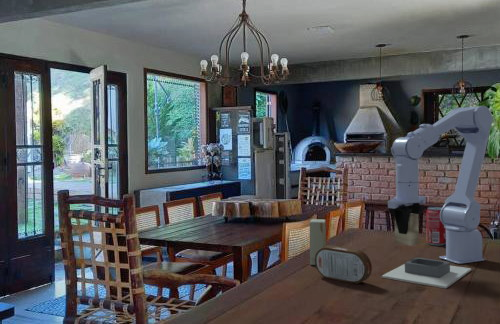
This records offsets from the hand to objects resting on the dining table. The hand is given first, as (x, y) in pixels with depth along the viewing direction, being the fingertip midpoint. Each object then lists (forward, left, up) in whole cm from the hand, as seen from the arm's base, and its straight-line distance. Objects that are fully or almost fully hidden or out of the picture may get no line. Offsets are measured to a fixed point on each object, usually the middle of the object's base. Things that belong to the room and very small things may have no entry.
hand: (407, 232), depth 137 cm
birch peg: (0, 0, -3) cm, 3 cm away
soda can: (-28, -22, -10) cm, 37 cm away
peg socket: (-1, +6, -10) cm, 12 cm away
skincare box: (+19, -16, -10) cm, 26 cm away
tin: (+22, +2, -10) cm, 24 cm away
